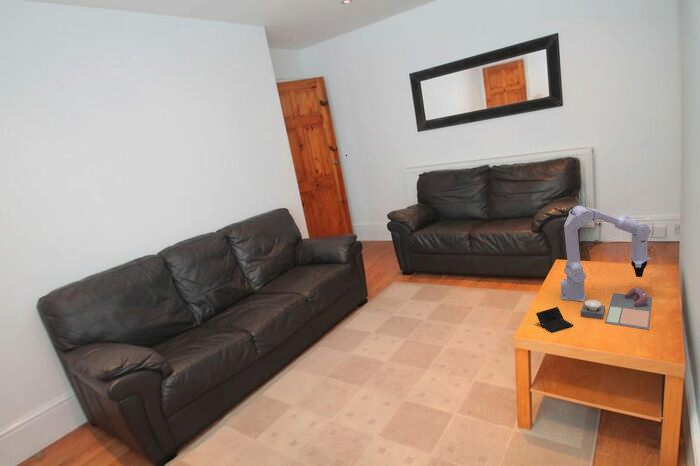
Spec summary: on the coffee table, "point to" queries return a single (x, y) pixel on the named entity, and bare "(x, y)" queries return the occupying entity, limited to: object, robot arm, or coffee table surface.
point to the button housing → (593, 312)
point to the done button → (593, 304)
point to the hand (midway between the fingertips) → (639, 276)
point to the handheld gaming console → (553, 320)
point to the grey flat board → (628, 312)
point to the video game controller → (638, 296)
